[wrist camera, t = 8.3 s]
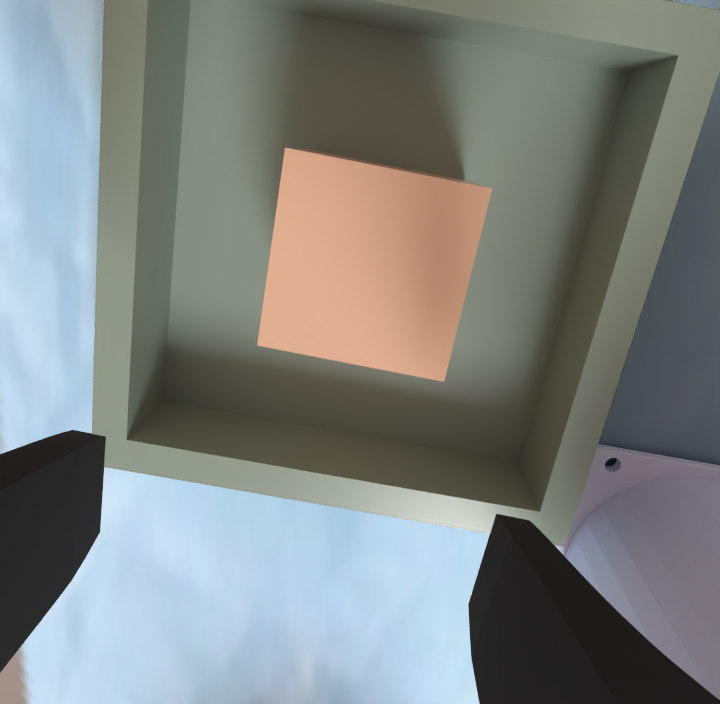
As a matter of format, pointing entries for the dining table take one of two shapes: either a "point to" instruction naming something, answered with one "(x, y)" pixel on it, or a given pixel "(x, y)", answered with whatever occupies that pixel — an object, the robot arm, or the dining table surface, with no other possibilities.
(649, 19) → the olive bin
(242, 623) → the dining table surface
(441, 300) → the clay block
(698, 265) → the dining table surface
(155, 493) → the dining table surface
